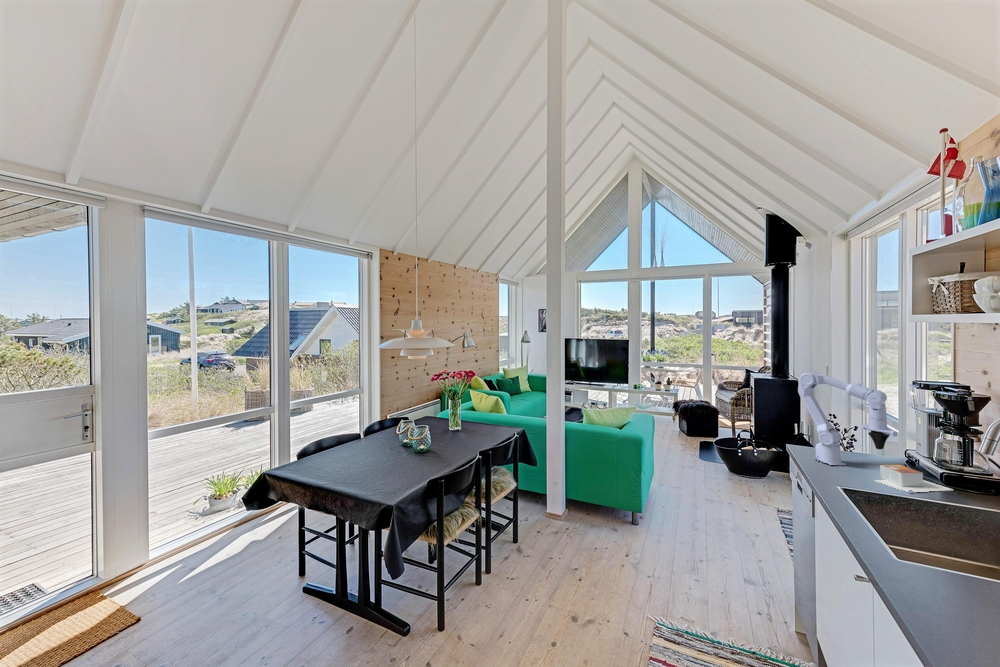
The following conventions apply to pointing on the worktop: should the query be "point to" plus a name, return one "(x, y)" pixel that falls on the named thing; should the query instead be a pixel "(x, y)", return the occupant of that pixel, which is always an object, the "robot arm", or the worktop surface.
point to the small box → (901, 475)
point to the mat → (925, 488)
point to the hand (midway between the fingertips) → (879, 448)
